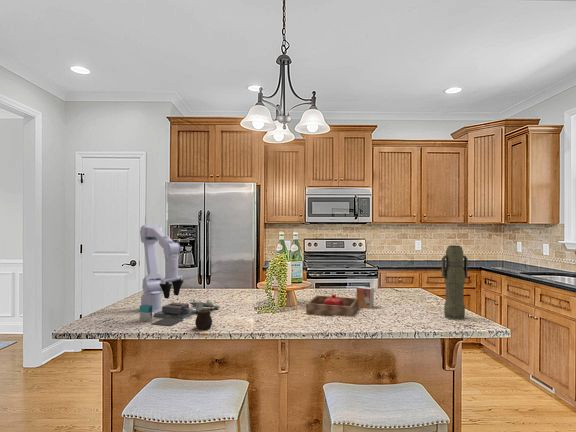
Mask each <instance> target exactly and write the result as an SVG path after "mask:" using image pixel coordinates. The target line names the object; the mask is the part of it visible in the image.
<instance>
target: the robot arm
mask: <svg viewBox="0 0 576 432" xmlns="http://www.w3.org/2000/svg"><path fill="white" fill-rule="evenodd" d="M139 235H140V237H139V238H140V242H141V243H142V244H143V245H144V246H143V247H144V254H145V265H146V272H147V273H146V274H147V275H146V276H144V277H143V279H142V284H141V285H142V288H141V289H142V291H143V293H142V294H141V297H140V305H143V304H144V305H152V313H157V312H160V311H162V293H163V297H164V299H167V300H168V299H170V296H171V295H170V294H171V288H173V295H174V296H179V295H180V291H181V287H182V285H183V283H184V280H183V275H182V274H181V275H180V274H179V255H180V254H181V250H182V249H181V245H180V243H179V242H174V240H172V239H171V237H169V235H165V234H164V232H163V227H162V225H159V224H158V225H142V226H141V227H140V230H139ZM156 243H158V244H159V246H160V247H161V248H162V249H163V255H164V259H165V277H163V275H161V274H159V273H158V266H157V265H158V264H157V257H156V249H155V248H156V247H155V244H156Z"/></svg>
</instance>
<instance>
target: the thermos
mask: <svg viewBox="0 0 576 432" xmlns="http://www.w3.org/2000/svg"><path fill="white" fill-rule="evenodd" d="M468 261H469V260H468V257H467V256H466V255H465V254H464V249H463V247H462V246H460V245H456V244H455V245H452V244H451V245H449V246H447V248H446V250H445V255H443V256H442V257H441V277H442V278H444V284H445V302H444V306H443V310H444V311H443V314H444V318H446V319H448V320H455V321H459V320H460V321H461V320H464V319H465V316H466V306H465V304H464V303H465V302H464V300H465V299H464V295H465V294H464V293H465V292H464V289H465V287H464V286H465V283H466V282H465V281H466V279H467V278H468V274H469V273H468V263H469V262H468Z"/></svg>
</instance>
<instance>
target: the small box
mask: <svg viewBox="0 0 576 432" xmlns="http://www.w3.org/2000/svg"><path fill="white" fill-rule="evenodd" d="M374 291H375V287H371V286H370V287H369V286H357V287H356V295H355V296H356V297H355V298H359V308H362V309H372V308H373V307H374V301H375V299H374V295H375V292H374Z"/></svg>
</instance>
